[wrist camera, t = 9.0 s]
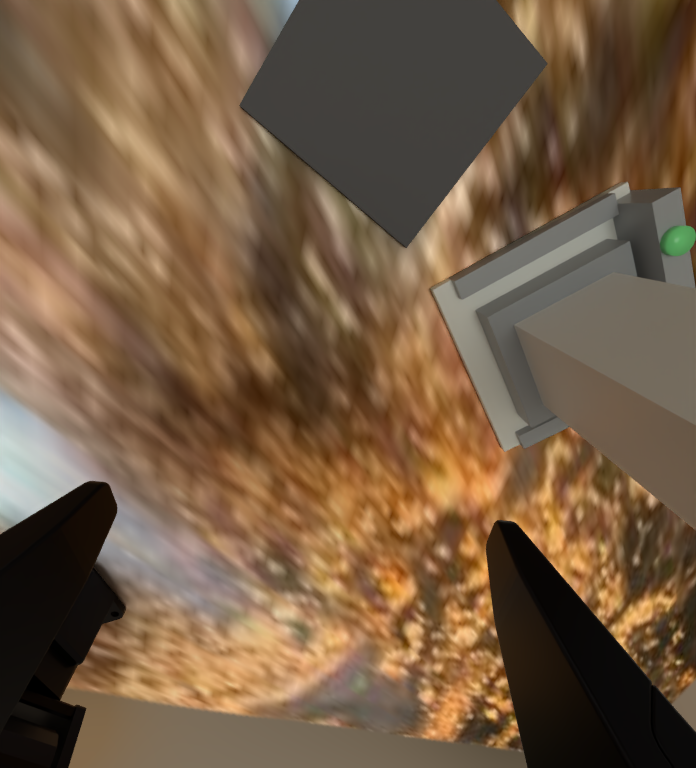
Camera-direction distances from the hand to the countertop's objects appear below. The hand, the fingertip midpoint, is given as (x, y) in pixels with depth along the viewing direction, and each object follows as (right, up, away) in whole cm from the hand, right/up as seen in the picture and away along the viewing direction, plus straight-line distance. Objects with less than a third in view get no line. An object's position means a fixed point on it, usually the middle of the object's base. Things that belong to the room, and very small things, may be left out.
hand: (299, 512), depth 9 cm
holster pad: (+3, +15, +7) cm, 17 cm away
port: (+12, +6, +12) cm, 18 cm away
